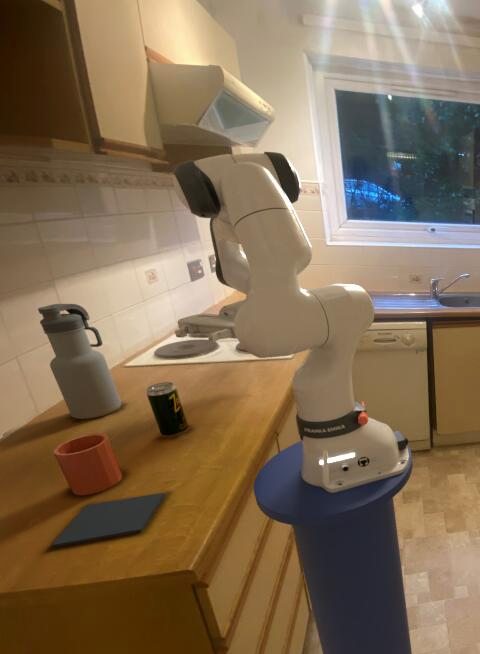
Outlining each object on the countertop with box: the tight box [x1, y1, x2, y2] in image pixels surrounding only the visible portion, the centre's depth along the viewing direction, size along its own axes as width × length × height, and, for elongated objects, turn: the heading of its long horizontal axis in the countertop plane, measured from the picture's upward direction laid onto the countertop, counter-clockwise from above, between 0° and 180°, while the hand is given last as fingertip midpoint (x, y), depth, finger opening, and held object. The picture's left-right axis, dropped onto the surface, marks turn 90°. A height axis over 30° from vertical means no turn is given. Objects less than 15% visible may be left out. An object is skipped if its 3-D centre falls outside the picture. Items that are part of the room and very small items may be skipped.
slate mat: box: [51, 492, 166, 549], centre depth 76 cm, size 12×10×1 cm
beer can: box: [146, 381, 189, 438], centre depth 101 cm, size 5×5×12 cm
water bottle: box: [37, 303, 122, 420], centre depth 107 cm, size 10×10×28 cm
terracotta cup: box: [53, 433, 123, 496], centre depth 83 cm, size 7×7×9 cm
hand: (194, 336), depth 105 cm, fingers open, 8 cm apart
